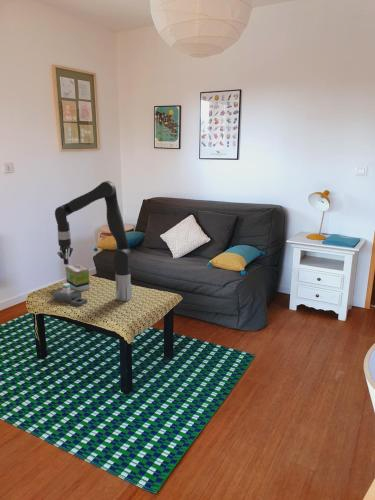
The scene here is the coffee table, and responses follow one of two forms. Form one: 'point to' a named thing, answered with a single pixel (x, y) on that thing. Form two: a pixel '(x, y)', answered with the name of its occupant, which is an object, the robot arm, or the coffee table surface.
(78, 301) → the gray square frame
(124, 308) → the coffee table surface
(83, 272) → the tea box
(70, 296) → the port
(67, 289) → the plug
